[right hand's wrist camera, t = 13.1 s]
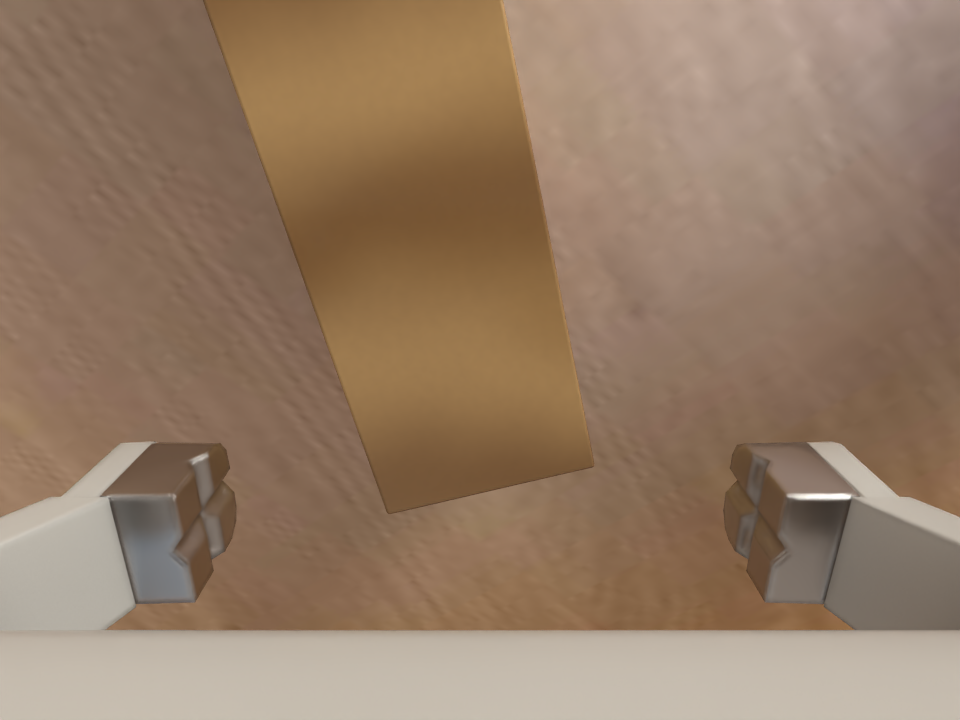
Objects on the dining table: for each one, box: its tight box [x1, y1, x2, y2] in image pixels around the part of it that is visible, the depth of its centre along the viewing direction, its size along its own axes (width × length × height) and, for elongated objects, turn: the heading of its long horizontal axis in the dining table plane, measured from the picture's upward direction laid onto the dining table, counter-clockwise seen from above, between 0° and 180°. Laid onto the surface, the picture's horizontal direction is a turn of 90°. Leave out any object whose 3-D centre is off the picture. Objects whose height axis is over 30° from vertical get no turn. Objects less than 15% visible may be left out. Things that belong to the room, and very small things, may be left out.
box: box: [203, 0, 594, 514], centre depth 18 cm, size 25×6×9 cm, turn 14°
